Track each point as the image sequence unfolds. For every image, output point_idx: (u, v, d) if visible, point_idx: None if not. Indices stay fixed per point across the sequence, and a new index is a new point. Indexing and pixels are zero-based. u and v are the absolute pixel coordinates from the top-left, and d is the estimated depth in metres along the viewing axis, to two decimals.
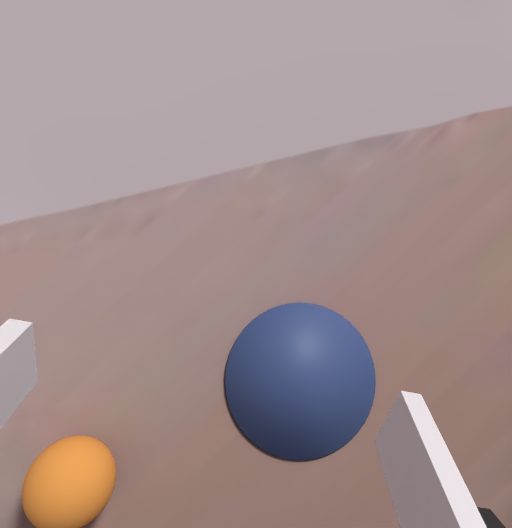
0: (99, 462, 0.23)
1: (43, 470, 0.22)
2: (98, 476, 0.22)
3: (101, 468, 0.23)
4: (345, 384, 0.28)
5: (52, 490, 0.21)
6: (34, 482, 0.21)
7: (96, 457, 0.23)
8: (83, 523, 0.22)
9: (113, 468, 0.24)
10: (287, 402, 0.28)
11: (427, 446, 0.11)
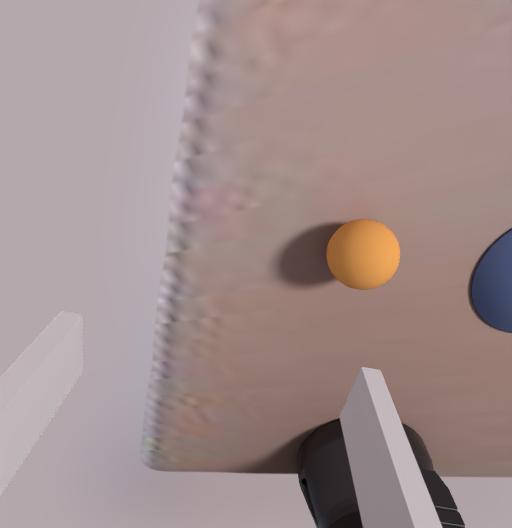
0: (399, 257, 0.27)
1: (373, 243, 0.25)
2: None
3: None
4: None
5: (376, 262, 0.25)
6: (364, 248, 0.25)
7: (399, 252, 0.27)
8: None
9: None
10: None
11: (379, 414, 0.11)
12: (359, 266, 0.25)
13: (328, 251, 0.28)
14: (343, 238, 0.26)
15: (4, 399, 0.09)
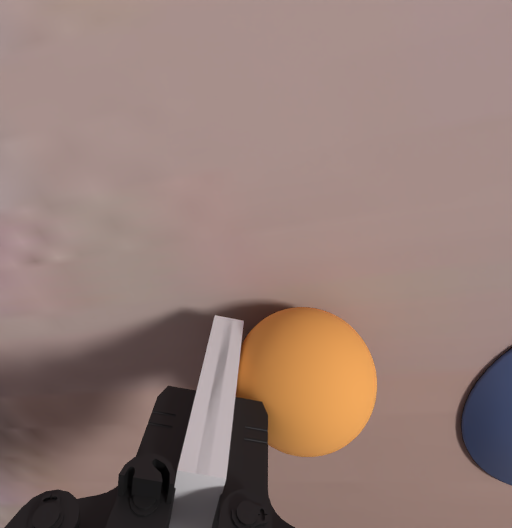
0: None
1: (335, 382, 0.11)
2: None
3: None
4: None
5: (341, 423, 0.11)
6: (317, 395, 0.11)
7: None
8: None
9: None
10: None
11: (221, 354, 0.12)
12: (305, 432, 0.11)
13: (237, 379, 0.13)
14: (270, 364, 0.12)
15: (215, 392, 0.11)
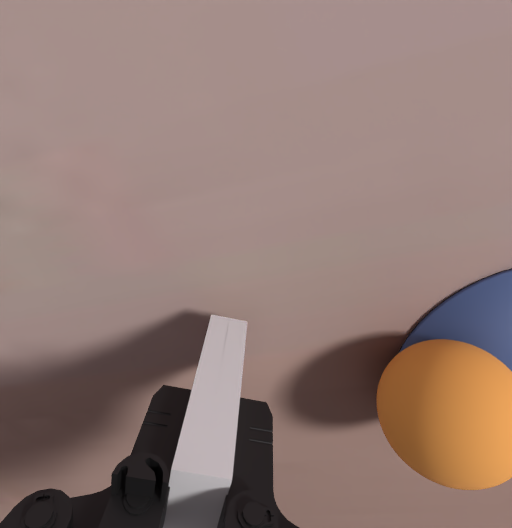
0: (396, 357, 0.15)
1: None
2: (390, 362, 0.16)
3: (390, 361, 0.15)
4: None
5: None
6: None
7: (403, 353, 0.15)
8: None
9: (381, 388, 0.14)
10: None
11: (225, 354, 0.12)
12: None
13: None
14: None
15: (210, 391, 0.11)
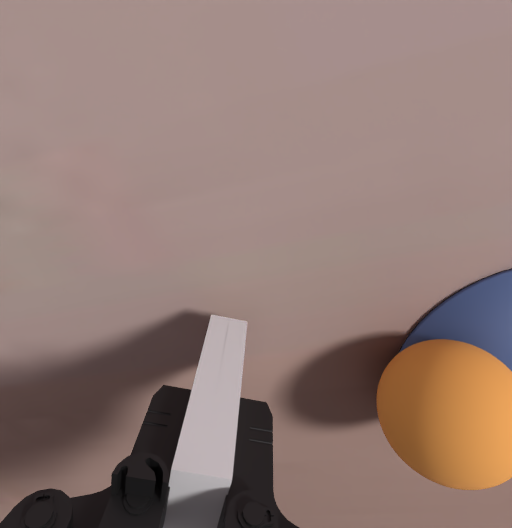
0: (396, 357, 0.15)
1: None
2: (390, 362, 0.16)
3: (390, 361, 0.15)
4: None
5: None
6: None
7: (403, 353, 0.15)
8: None
9: (381, 388, 0.14)
10: None
11: (225, 354, 0.12)
12: None
13: None
14: None
15: (210, 391, 0.11)
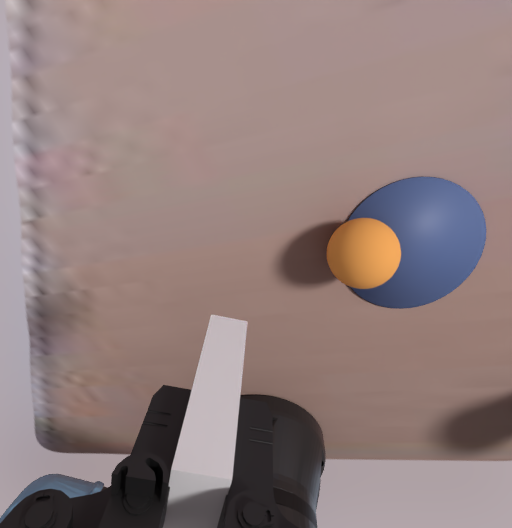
0: (337, 229, 0.28)
1: None
2: None
3: None
4: (438, 272, 0.31)
5: None
6: None
7: None
8: None
9: (328, 243, 0.28)
10: None
11: (225, 354, 0.12)
12: None
13: None
14: None
15: (210, 391, 0.11)
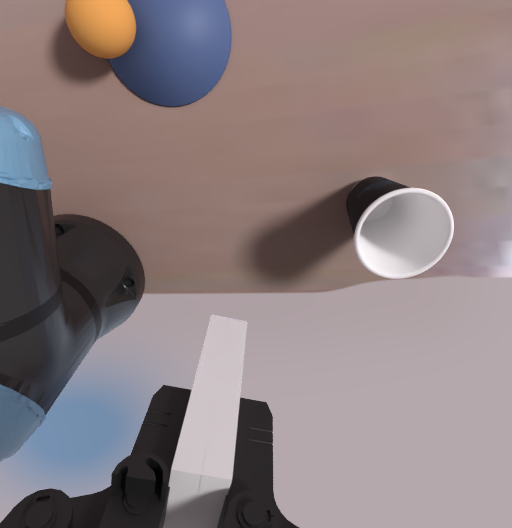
0: None
1: None
2: None
3: None
4: (197, 62, 0.33)
5: None
6: None
7: None
8: None
9: None
10: (146, 45, 0.33)
11: (226, 354, 0.12)
12: None
13: (132, 34, 0.30)
14: None
15: (210, 391, 0.11)
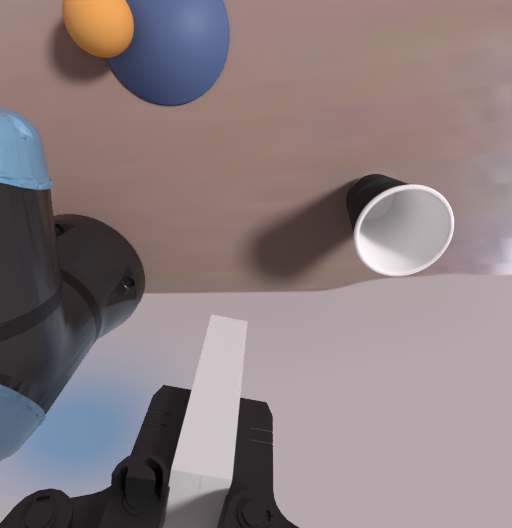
0: None
1: None
2: None
3: None
4: (195, 60, 0.33)
5: None
6: None
7: None
8: None
9: None
10: (144, 44, 0.33)
11: (226, 354, 0.12)
12: None
13: (130, 33, 0.30)
14: (130, 11, 0.30)
15: (210, 391, 0.11)
